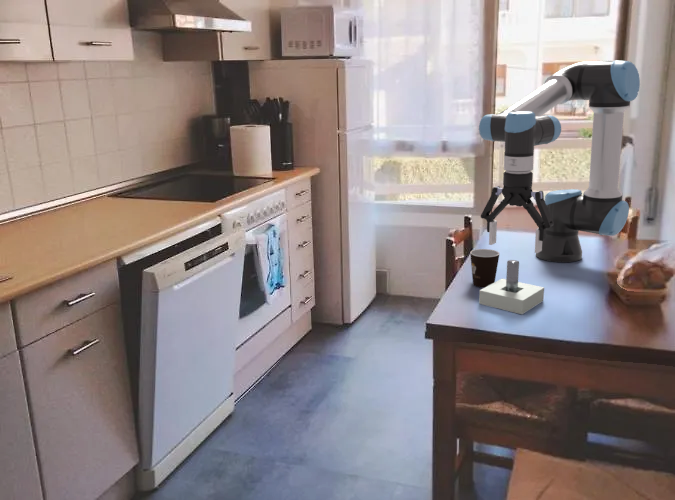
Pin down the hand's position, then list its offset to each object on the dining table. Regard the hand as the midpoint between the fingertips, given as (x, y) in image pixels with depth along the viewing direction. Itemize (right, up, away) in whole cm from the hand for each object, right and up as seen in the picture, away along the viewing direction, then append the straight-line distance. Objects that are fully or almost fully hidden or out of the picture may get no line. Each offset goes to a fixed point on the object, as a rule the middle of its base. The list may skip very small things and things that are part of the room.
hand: (514, 247), depth 174 cm
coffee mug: (-4, -11, +21) cm, 24 cm away
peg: (0, -15, +4) cm, 16 cm away
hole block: (0, -15, +4) cm, 16 cm away
